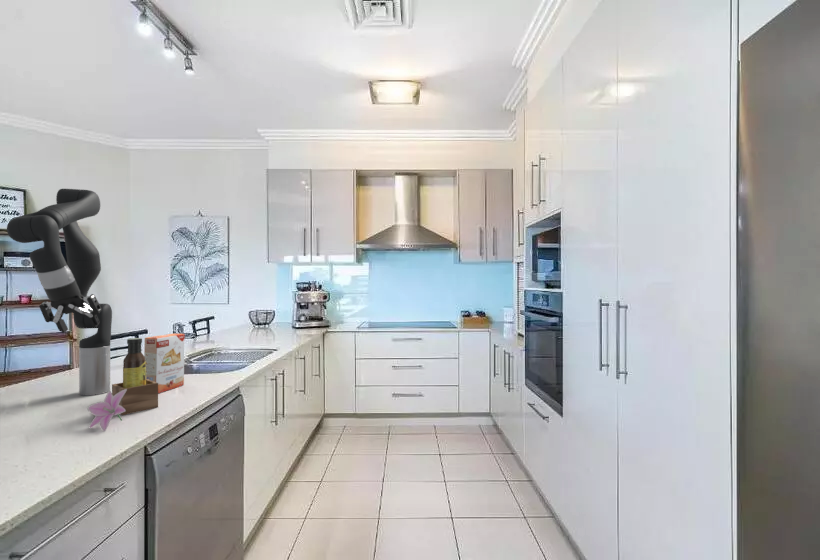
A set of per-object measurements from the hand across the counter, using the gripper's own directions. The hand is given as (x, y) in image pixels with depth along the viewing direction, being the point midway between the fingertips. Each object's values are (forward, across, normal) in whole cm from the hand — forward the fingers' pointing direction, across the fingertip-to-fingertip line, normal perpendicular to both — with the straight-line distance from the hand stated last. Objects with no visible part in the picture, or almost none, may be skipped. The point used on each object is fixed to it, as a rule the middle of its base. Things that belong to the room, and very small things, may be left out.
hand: (80, 328), depth 126 cm
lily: (+21, -9, +23) cm, 33 cm away
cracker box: (+38, -10, -13) cm, 41 cm away
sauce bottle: (+25, -10, +8) cm, 28 cm away
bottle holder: (+28, -9, +8) cm, 30 cm away
